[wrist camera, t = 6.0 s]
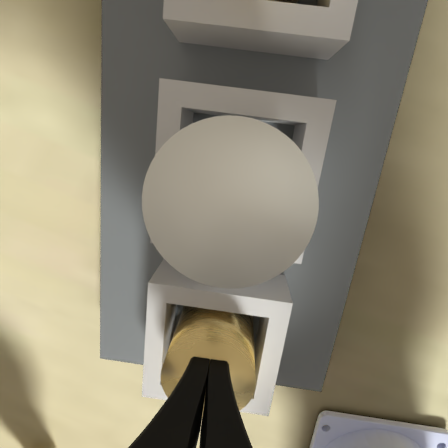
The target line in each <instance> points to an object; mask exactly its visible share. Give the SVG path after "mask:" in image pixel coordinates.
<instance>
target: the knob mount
mask: <svg viewBox="0 0 448 448" xmlns="http://www.w3.org/2000/svg"><path fill="white" fill-rule="evenodd" d="M427 2H428V0H299V1H298V2H297V3H296V4H295V3H286V2H278V1H269V0H102V73H101V298H100V358H102V359H108V360H115V361H121V362H128V363H135V364H141V365H144V366H143V384H142V397H148V398H155V399H161V400H167V399H168V397H167V396H166V394H165V392H164V390H163V388H162V385H161V369H162V366H163V363H164V360H165V357H166V355H167V352H168V349H169V346H170V343H171V340H172V338H173V335H174V332H175V329H176V326H177V324H178V321H179V318H180V315H181V312H182V310H183V307H184V306H191V307H197V308H204V309H211V310H218V311H225V312H232V313H239V314H246V315H252V316H253V332H254V354H255V377H256V386H255V391H254V394H253V397H252V399H251V400H250V402H249V403H248V404H247V405H246V406H245V407H244V408H243V409H242V410H240V411H239V412H245V413H252V414H258V415H265V416H269V412H270V407H271V403H272V398H273V393H274V389H275V385H280V386H286V387H293V388H300V389H306V390H313V391H319V392H321V391H322V387H323V383H324V380H325V376H326V372H327V369H328V365H329V361H330V358H331V354H332V350H333V347H334V343H335V339H336V336H337V332H338V328H339V325H340V321H341V317H342V314H343V310H344V306H345V303H346V299H347V295H348V292H349V288H350V284H351V281H352V277H353V273H354V270H355V266H356V262H357V259H358V255H359V251H360V248H361V244H362V240H363V237H364V233H365V229H366V226H367V222H368V218H369V215H370V211H371V207H372V204H373V200H374V196H375V193H376V189H377V185H378V182H379V178H380V174H381V171H382V167H383V163H384V160H385V156H386V152H387V149H388V145H389V141H390V138H391V134H392V130H393V127H394V123H395V119H396V116H397V112H398V108H399V105H400V101H401V97H402V94H403V90H404V86H405V83H406V79H407V75H408V72H409V68H410V64H411V61H412V57H413V53H414V50H415V46H416V42H417V39H418V35H419V31H420V28H421V24H422V20H423V17H424V13H425V9H426V6H427ZM226 115H231V116H243V117H248V118H253V119H256V120H259V121H262V122H265V123H267V124H269V125H271V126H273V127H275V128H277V129H278V130H279V131H281V132H282V133H284V134H285V135H286V136H288V137H289V138H290V139H291V140H292V141H293V142H294V143H295V144H296V145H297V146H298V148H299V149H300V150H301V151H302V153H303V154H304V155H305V157H306V159H307V160H308V162H309V164H310V166H311V168H312V171H313V173H314V176H315V180H316V183H317V187H318V196H319V211H318V218H317V223H316V226H315V230H314V233H313V235H312V237H311V239H310V242H309V243H308V245H307V247H306V248H305V250H304V252H303V253H302V254H301V255H300V257H299V258H298V259H297V260H296V261H295V262H294V263H293V264H292V265H291V266H290V267H289V268H288V269H286V270H285V271H284V272H282V273H281V274H279V275H278V276H276V277H274V278H272V279H271V280H268V281H266V282H263V283H261V284H258V285H254V286H250V287H244V288H231V289H228V288H217V287H213V286H208V285H205V284H202V283H199V282H196V281H194V280H192V279H190V278H188V277H186V276H185V275H183V274H181V273H180V272H178V271H177V270H176V269H175V268H173V267H172V266H171V265H170V264H169V263H168V262H167V261H166V260H165V259H164V258H163V257H162V256H161V254H160V253H159V252H158V250H157V249H156V247H155V246H154V244H153V242H152V241H151V239H150V236H149V234H148V232H147V229H146V226H145V222H144V218H143V212H142V191H143V184H144V180H145V176H146V173H147V171H148V168H149V166H150V164H151V162H152V160H153V158H154V157H155V155H156V153H157V152H158V151H159V150H160V148H161V147H162V146H163V144H164V143H166V142H167V141H168V140H169V139H170V138H171V137H172V136H173V135H174V134H176V133H177V132H178V131H180V130H181V129H183V128H185V127H186V126H188V125H190V124H192V123H195V122H197V121H200V120H203V119H206V118H211V117H215V116H226Z"/></svg>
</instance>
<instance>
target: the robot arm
mask: <svg viewBox="0 0 448 448" xmlns="http://www.w3.org/2000/svg"><path fill="white" fill-rule="evenodd" d="M209 362H210V366H209ZM208 369H209V372H208ZM207 377H208V380H207ZM206 384H207V387H206ZM205 392H206V395H205ZM204 400H205V402H204ZM203 407H204V410H203ZM202 413H203V417H202ZM201 420H202V425H201ZM324 425H326V426H324ZM200 427H201V435H200V448H252V445H251V443H250V440H249V438H248V435H247V432H246V429H245V427H244V424H243V421H242V418H241V415H240V412H239V408H238V405H237V402H236V398H235V395H234V391H233V386H232V382H231V376H230V369H229V363H228V362H227V361H222V360H215V359H208V358H201V357H195V356H194V357H192V358H191V359H190V361H189V364H188V366H187V368H186V370H185V372H184V374H183V375H182V377H181V379H180V380H179V382H178V384H177V385H176V387H175V388H174V390H173V391H172V393H171V394H170V396H169V397H168V399H167V400H166V402H165V403H164V405H163V406H162V407H161V409H160V410H159V411H158V413H157V414H156V415H155V417H154V418H153V419H152V421H151V422H150V423H149V424H148V425H147V427H146V428H145V429H144V430H143V432H142V433H141V434H140V435H139V436H138V437H137V438H136V440H135V441H134V442H133V443H132V444H131V445H130V446H129V447H128V448H196V445H197V441H198V437H199V432H200ZM309 448H448V430H446V429H444V428H437V427H431V426H424V425H418V424H411V423H405V422H398V421H392V420H385V419H379V418H372V417H366V416H359V415H353V414H346V413H340V412H333V411H322V412H321V413H320V414H319V415H318V419H317V422H316V426H315V429H314V433H313V437H312V440H311V444H310V447H309Z"/></svg>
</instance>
